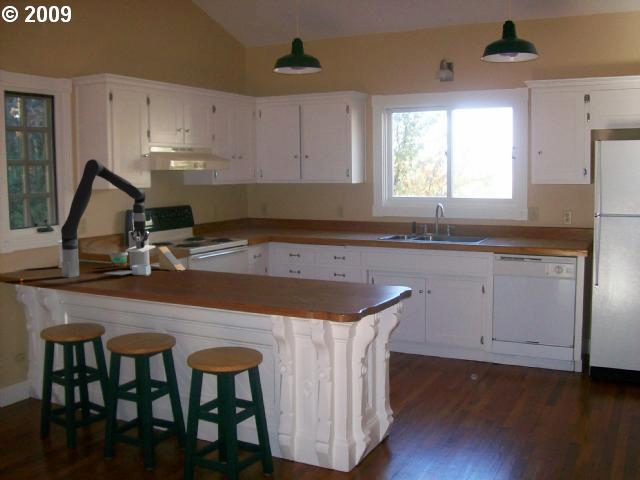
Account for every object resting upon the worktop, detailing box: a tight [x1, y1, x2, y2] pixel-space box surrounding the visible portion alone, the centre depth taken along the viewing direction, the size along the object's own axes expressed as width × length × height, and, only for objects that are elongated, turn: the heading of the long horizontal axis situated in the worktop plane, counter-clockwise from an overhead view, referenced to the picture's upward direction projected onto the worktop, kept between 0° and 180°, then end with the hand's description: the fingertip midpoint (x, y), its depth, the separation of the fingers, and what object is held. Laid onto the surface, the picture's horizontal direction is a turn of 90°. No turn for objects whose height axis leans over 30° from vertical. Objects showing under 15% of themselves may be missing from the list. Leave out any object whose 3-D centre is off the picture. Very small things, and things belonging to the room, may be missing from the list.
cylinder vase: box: [128, 230, 150, 270], centre depth 452 cm, size 12×12×25 cm
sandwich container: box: [157, 245, 186, 272], centre depth 448 cm, size 9×15×15 cm, turn 67°
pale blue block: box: [131, 264, 152, 277], centre depth 429 cm, size 11×11×6 cm
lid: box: [125, 240, 156, 253], centre depth 427 cm, size 13×13×6 cm
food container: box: [108, 251, 129, 268], centre depth 462 cm, size 12×6×10 cm, turn 105°
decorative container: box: [57, 239, 63, 269], centre depth 465 cm, size 12×12×18 cm
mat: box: [102, 269, 132, 276], centre depth 436 cm, size 16×16×1 cm
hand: (140, 247), depth 428 cm, fingers closed on lid, 3 cm apart
